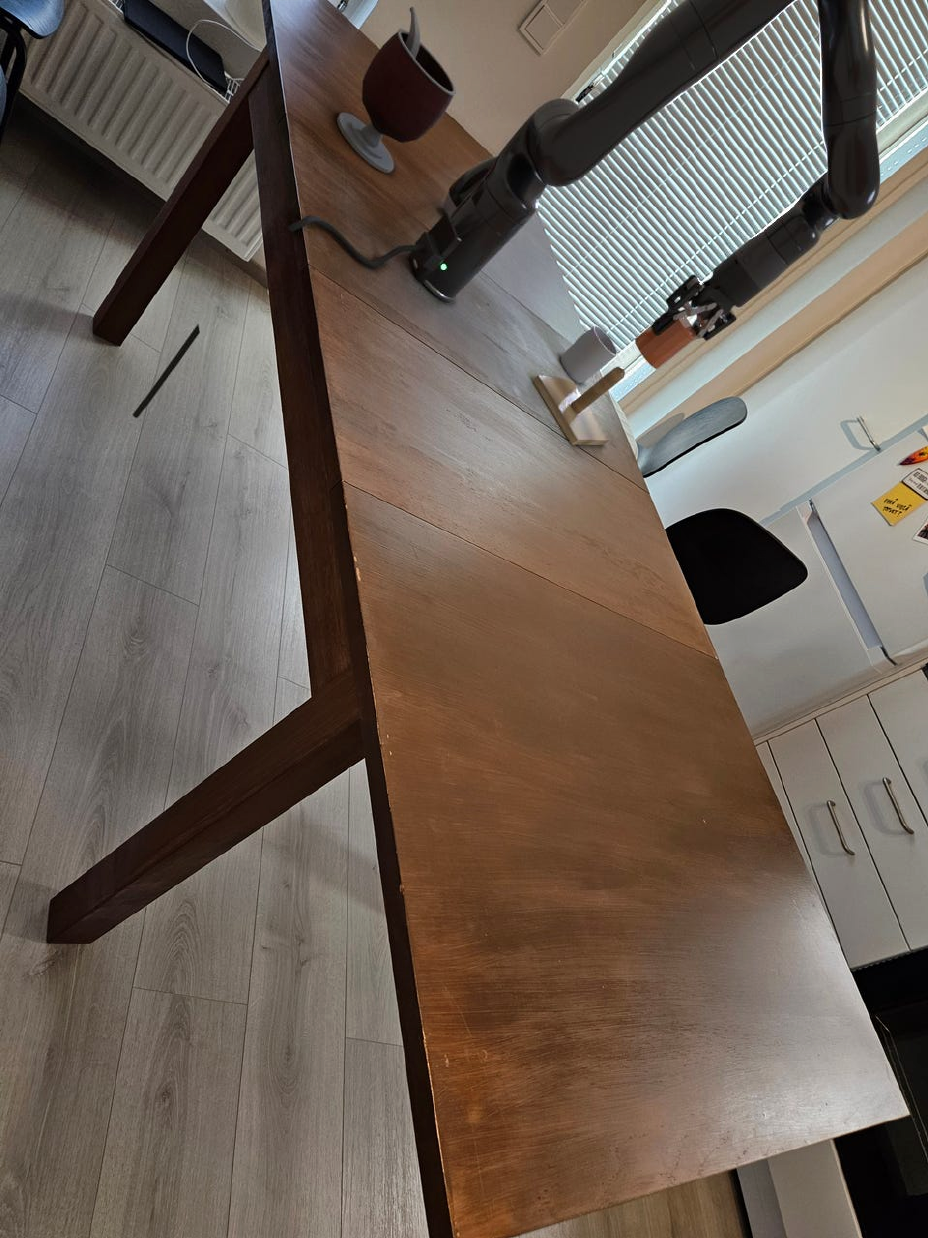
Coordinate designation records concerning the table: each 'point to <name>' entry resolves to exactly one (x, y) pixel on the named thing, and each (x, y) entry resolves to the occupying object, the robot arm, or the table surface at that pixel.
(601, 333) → the cup
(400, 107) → the mate gourd
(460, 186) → the pump dispenser
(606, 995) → the table surface
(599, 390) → the cup stand
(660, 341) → the terracotta cup
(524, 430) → the table surface
